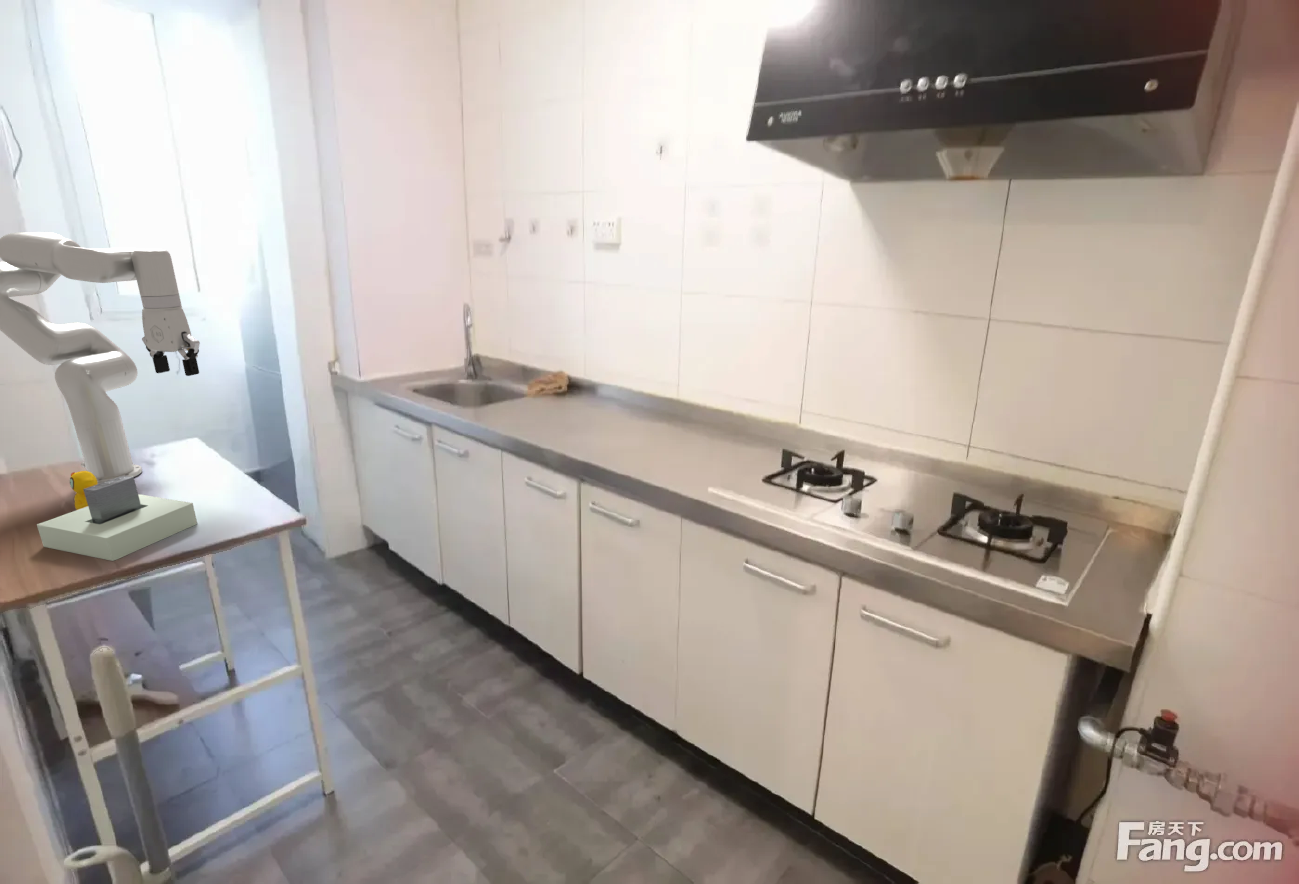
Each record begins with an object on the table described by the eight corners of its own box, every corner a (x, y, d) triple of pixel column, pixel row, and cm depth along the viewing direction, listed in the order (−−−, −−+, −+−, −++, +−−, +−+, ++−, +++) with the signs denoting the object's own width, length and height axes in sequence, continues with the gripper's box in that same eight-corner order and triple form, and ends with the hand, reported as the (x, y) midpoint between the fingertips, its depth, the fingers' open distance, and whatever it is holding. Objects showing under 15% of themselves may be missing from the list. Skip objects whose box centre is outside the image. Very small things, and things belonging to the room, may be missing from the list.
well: (43, 546, 136) (36, 524, 134) (132, 512, 152) (126, 492, 151) (113, 560, 130) (106, 538, 129) (197, 523, 146) (192, 503, 145)
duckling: (68, 511, 153) (56, 471, 149) (96, 503, 157) (84, 464, 154) (90, 522, 147) (78, 480, 144) (118, 514, 151) (107, 473, 148)
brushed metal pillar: (98, 542, 138) (83, 489, 134) (136, 526, 145) (123, 475, 141) (109, 544, 137) (94, 490, 133) (146, 528, 144) (133, 477, 141)
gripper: (119, 303, 156) (136, 374, 161) (173, 306, 151) (189, 379, 156) (150, 300, 163) (166, 368, 168) (203, 302, 158) (218, 372, 163)
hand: (177, 373), depth 162 cm, fingers open, 9 cm apart
